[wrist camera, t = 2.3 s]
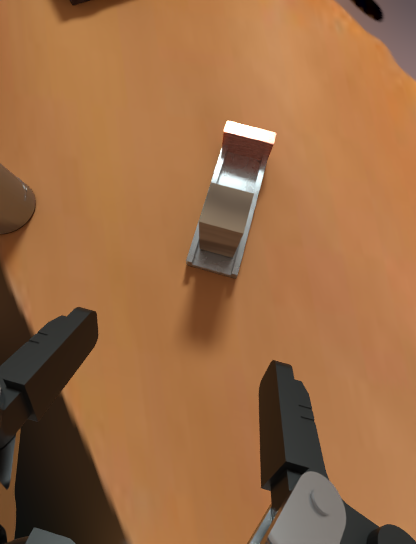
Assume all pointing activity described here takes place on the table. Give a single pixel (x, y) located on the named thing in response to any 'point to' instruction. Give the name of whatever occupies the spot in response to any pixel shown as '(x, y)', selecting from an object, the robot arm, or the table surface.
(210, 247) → the slider block
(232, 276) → the track
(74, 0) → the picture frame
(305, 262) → the table surface
